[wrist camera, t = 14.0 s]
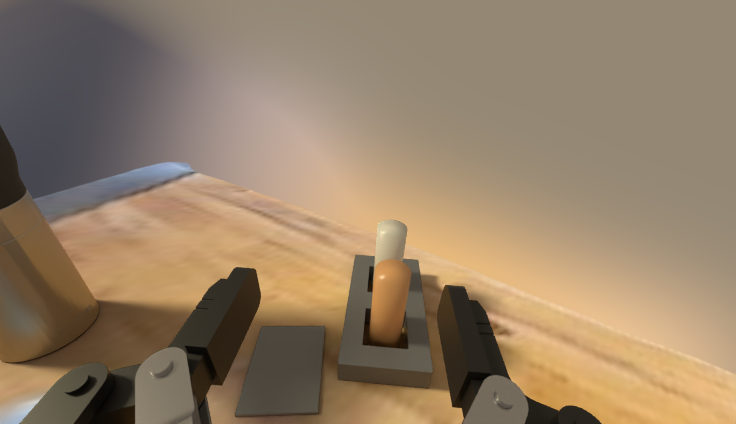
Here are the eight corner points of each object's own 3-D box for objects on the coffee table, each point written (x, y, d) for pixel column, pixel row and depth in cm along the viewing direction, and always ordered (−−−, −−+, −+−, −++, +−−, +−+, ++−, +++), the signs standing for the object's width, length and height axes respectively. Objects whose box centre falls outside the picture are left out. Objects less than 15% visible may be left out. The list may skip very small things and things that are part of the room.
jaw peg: (367, 356, 34) (373, 282, 28) (369, 329, 37) (375, 257, 31) (399, 359, 34) (412, 286, 28) (398, 331, 37) (410, 260, 31)
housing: (337, 379, 32) (337, 304, 25) (354, 268, 47) (357, 205, 41) (428, 388, 31) (450, 314, 25) (415, 274, 47) (427, 211, 41)
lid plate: (236, 419, 28) (234, 414, 28) (262, 331, 37) (261, 326, 36) (318, 416, 29) (317, 412, 28) (325, 330, 37) (325, 325, 37)
